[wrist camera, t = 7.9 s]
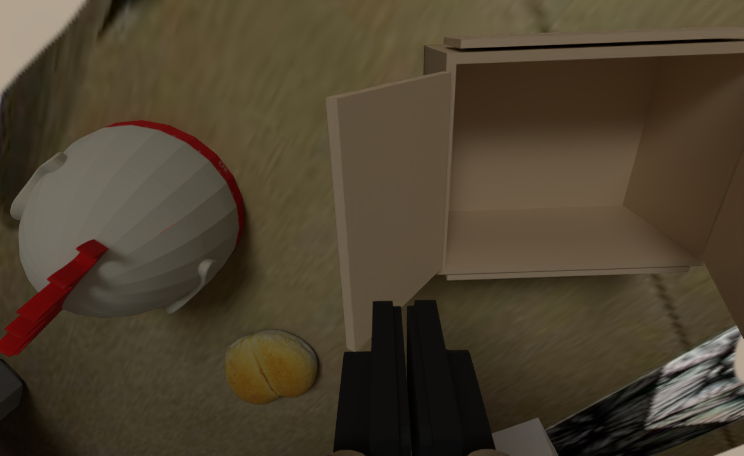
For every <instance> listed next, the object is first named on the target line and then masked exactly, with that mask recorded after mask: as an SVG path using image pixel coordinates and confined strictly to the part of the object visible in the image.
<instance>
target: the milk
mask: <svg viewBox="0 0 744 456" xmlns="http://www.w3.org/2000/svg"><path fill="white" fill-rule="evenodd" d="M492 437H493V440H494V444H495V448H496V450H497V451H501V452H504V453H506V454H508V455H510V456H558V454H557V452H556V450H555V448H554V447H553V445H552V443H551V441H550V439H549V437H548V435H547V433H546V432H545V430H544V428H543V426H542V424H541V422H540V420H539V418H536V419H533V420H530V421H527V422H524V423H521V424H518V425H515V426H513V427H510V428H507V429H504V430H501V431H498V432H495V433H492Z"/></svg>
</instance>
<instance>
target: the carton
mask: <svg viewBox="0 0 744 456" xmlns="http://www.w3.org/2000/svg"><path fill="white" fill-rule="evenodd" d="M736 37H744V27H685V28H659V29H634V30H609V31H584V32H559V33H534V34H508V35H483V36H458V37H444V45H430V46H424V75H429V74H433V73H438V72H451V88H450V108H449V128H448V148H447V168H446V188H445V208H444V228H443V248H442V268H441V270H440V271H439V272H438V273H437V275H443V274H445V275H446V279H447V280H472V279H501V278H530V277H559V276H588V275H617V274H646V273H675V272H688V271H689V268H690V266H702V265H705V263H704V261H703V259H702V256H703V254H704V251H705V248H706V246H707V243H708V241H709V238H710V236H711V233H712V230H713V228H714V225H715V223H716V220H717V218H718V215H719V213H720V210H721V207H722V205H723V202H724V200H725V197H726V195H727V192H728V190H729V187H730V184H731V182H732V179H733V177H734V174H735V172H736V169H737V167H738V164H739V161H740V159H741V156H742V154H743V151H744V38H736Z"/></svg>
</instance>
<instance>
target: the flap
mask: <svg viewBox="0 0 744 456" xmlns="http://www.w3.org/2000/svg"><path fill="white" fill-rule="evenodd" d="M450 88H451V72H438V73H433V74H429V75H424V76H420V77H415V78H411V79H407V80H402V81H398V82H393V83H389V84H384V85H380V86H375V87H371V88H366V89H362V90H357V91H353V92H348V93H344V94H339V95H335V96H331V97H326V105H327V117H328V129H329V141H330V153H331V165H332V176H333V188H334V200H335V212H336V224H337V236H338V248H339V259H340V271H341V283H342V295H343V307H344V319H345V331H346V342H347V349H349V350H351V351H353V352H356V351H357V350H358V349H359V348H361V347H362V346H363V345H364V344H365V343H366V342H367V341H368V340H369V339H370V338H371V337H372V309H373V301H393V306H401V308H402V307H403V306H404V305H405V304H406V303H407V302H408V301H409V300H410V299H411V298H412V297H413V296H414V295H415V294H416V293H417V292H418V291H419V290H420V289H421V288H422V287H423V286H424V285H425V284H426V283H427V282H428V281H429V280H430V279H431V278H432V277H433V276H434V275H435V274H436V273H438V272H439V271H440V270H441V268H442V248H443V228H444V208H445V188H446V168H447V148H448V128H449V108H450Z"/></svg>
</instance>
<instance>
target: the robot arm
mask: <svg viewBox="0 0 744 456" xmlns="http://www.w3.org/2000/svg"><path fill="white" fill-rule="evenodd" d="M410 436H411V440H410ZM411 449H412V456H510V455H508V454H506V453H504V452H501V451H497V450H496V448H495V444H494V440H493V437H492V433H491V429H490V426H489V422H488V418H487V415H486V411H485V407H484V404H483V400H482V396H481V393H480V389H479V385H478V382H477V378H476V374H475V371H474V367H473V363H472V360H471V356H470V353H469V351H468V350H446V348H445V344H444V339H443V334H442V329H441V324H440V319H439V314H438V309H437V304H436V300H415V305H414V306H407V380H406V367H405V354H404V340H403V327H402V314H401V306H393V301H373V309H372V348H371V351H367V352H344V357H343V366H342V375H341V384H340V393H339V402H338V412H337V421H336V430H335V439H334V448H333V453H330V454H328V455H327V456H411Z"/></svg>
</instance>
